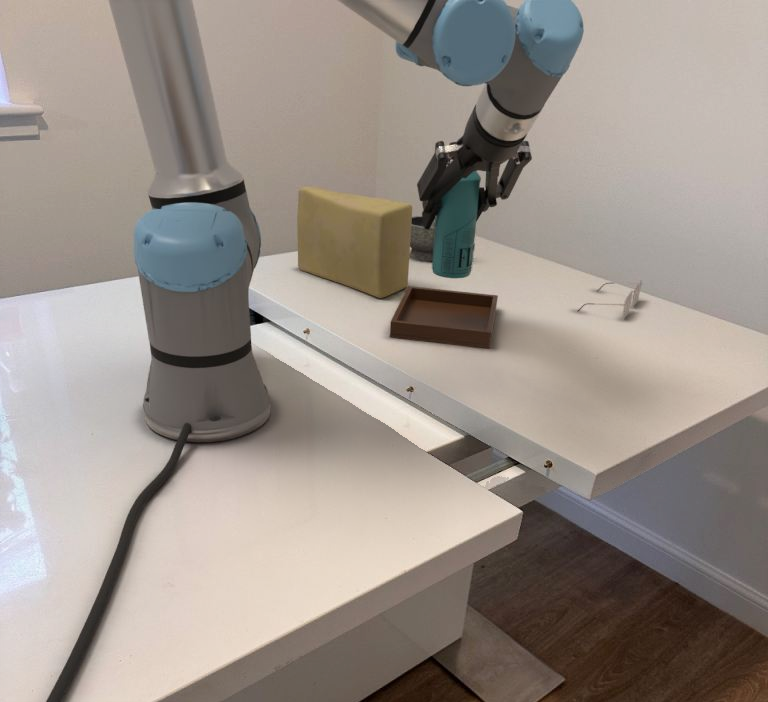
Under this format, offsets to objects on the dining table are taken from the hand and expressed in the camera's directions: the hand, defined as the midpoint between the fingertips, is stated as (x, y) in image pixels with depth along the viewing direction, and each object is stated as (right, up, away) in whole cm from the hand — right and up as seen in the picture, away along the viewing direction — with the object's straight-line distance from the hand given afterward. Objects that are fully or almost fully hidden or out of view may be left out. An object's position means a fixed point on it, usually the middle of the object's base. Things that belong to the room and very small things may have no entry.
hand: (447, 220), depth 112 cm
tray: (0, -14, +6) cm, 16 cm away
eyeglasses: (+30, -9, +17) cm, 36 cm away
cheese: (-17, -3, +22) cm, 28 cm away
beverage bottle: (+1, -9, +2) cm, 9 cm away
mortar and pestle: (-1, +7, +36) cm, 37 cm away
